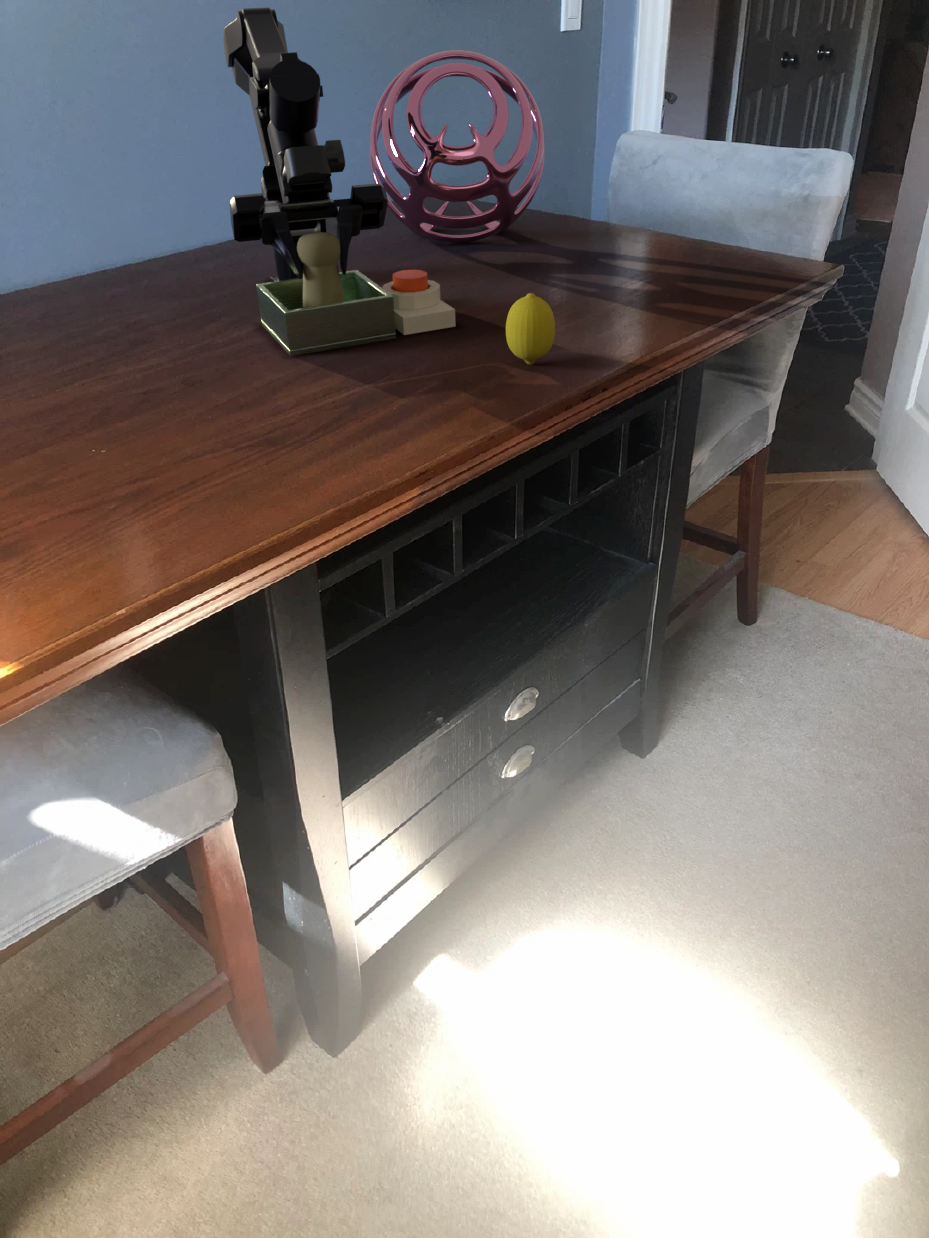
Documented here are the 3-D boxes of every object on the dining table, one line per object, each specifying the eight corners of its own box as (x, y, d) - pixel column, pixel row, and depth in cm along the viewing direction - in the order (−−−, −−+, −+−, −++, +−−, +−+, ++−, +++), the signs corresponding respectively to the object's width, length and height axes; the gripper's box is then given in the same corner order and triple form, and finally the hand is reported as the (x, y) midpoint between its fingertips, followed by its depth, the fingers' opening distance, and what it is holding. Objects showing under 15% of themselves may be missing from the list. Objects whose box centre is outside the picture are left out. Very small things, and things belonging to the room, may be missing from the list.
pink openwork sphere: (399, 88, 171) (388, -11, 144) (555, 130, 171) (574, 39, 144) (358, 245, 171) (340, 175, 144) (514, 287, 171) (526, 225, 144)
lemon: (521, 376, 109) (521, 303, 105) (497, 361, 114) (496, 291, 109) (563, 367, 112) (565, 295, 107) (538, 353, 116) (539, 283, 111)
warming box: (261, 325, 127) (255, 284, 124) (360, 309, 131) (356, 269, 129) (290, 356, 117) (284, 312, 114) (396, 338, 121) (393, 296, 118)
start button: (388, 288, 127) (387, 272, 126) (420, 283, 128) (419, 268, 127) (401, 296, 123) (400, 281, 122) (433, 291, 125) (432, 276, 124)
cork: (293, 324, 125) (282, 233, 118) (335, 314, 127) (327, 225, 121) (316, 337, 120) (306, 243, 114) (359, 326, 123) (351, 234, 117)
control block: (370, 310, 131) (367, 279, 129) (421, 302, 134) (419, 271, 131) (402, 335, 122) (400, 303, 120) (456, 326, 125) (455, 294, 122)
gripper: (217, 120, 112) (243, 245, 109) (378, 109, 116) (406, 229, 113) (222, 182, 122) (245, 297, 120) (369, 170, 127) (395, 280, 124)
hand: (323, 275), depth 119 cm, fingers closed on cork, 5 cm apart
